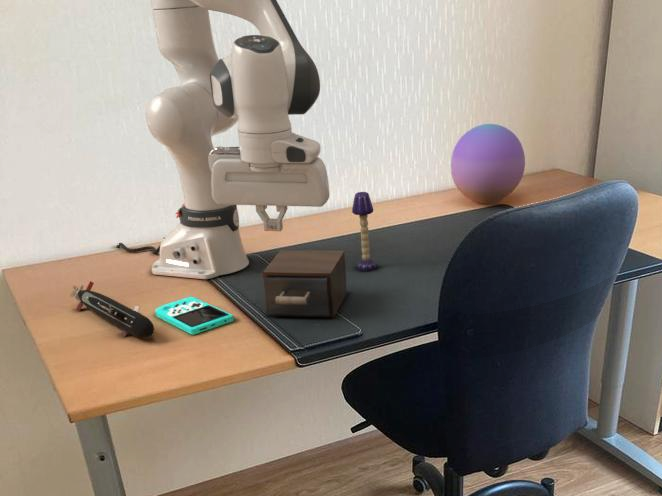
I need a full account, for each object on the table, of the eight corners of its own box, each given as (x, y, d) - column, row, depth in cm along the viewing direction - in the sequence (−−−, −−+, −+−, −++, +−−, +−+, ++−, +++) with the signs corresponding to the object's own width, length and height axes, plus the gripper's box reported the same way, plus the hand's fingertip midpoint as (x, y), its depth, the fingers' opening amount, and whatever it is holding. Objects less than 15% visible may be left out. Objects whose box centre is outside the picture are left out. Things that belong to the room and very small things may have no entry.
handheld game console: (193, 300, 177) (192, 294, 176) (236, 320, 166) (235, 314, 166) (151, 314, 171) (150, 308, 171) (192, 335, 161) (191, 328, 160)
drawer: (323, 325, 160) (321, 288, 156) (261, 323, 162) (257, 287, 158) (341, 292, 174) (339, 258, 170) (284, 291, 176) (281, 257, 172)
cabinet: (333, 317, 165) (330, 273, 160) (267, 316, 168) (262, 272, 163) (347, 293, 176) (344, 250, 171) (284, 291, 179) (280, 250, 174)
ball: (514, 190, 239) (518, 115, 228) (530, 209, 223) (535, 129, 212) (445, 194, 239) (445, 120, 228) (456, 214, 222) (457, 134, 211)
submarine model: (84, 313, 180) (43, 292, 173) (97, 285, 180) (57, 263, 172) (157, 354, 160) (114, 334, 153) (172, 323, 160) (131, 301, 152)
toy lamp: (373, 272, 187) (370, 196, 177) (353, 271, 188) (349, 195, 178) (377, 265, 191) (374, 190, 181) (357, 264, 191) (353, 190, 182)
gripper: (200, 150, 138) (211, 234, 145) (320, 152, 134) (325, 237, 142) (212, 142, 143) (222, 223, 151) (329, 143, 139) (333, 226, 147)
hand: (273, 230), depth 146 cm, fingers closed
